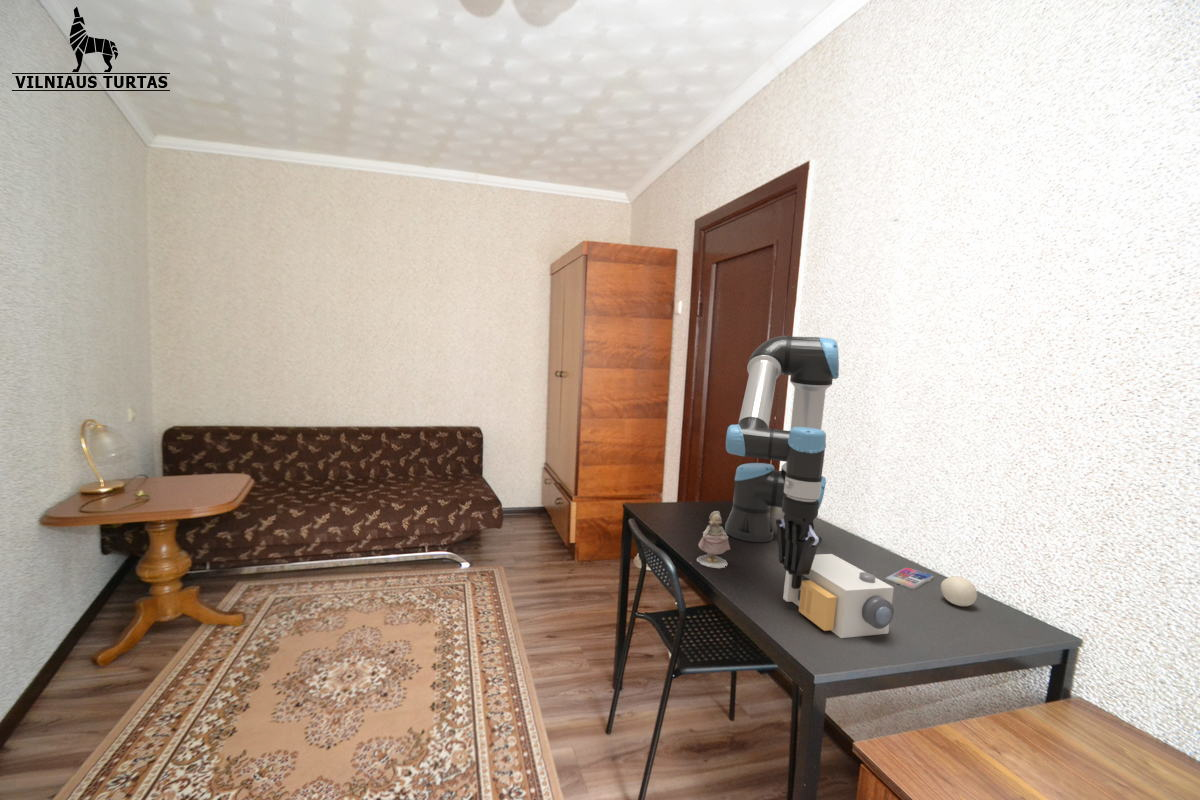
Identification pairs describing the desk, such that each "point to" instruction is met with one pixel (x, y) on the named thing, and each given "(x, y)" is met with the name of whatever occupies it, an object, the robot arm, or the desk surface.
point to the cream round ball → (959, 591)
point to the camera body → (853, 597)
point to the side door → (817, 605)
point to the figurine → (714, 543)
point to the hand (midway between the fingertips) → (790, 599)
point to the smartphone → (909, 578)
